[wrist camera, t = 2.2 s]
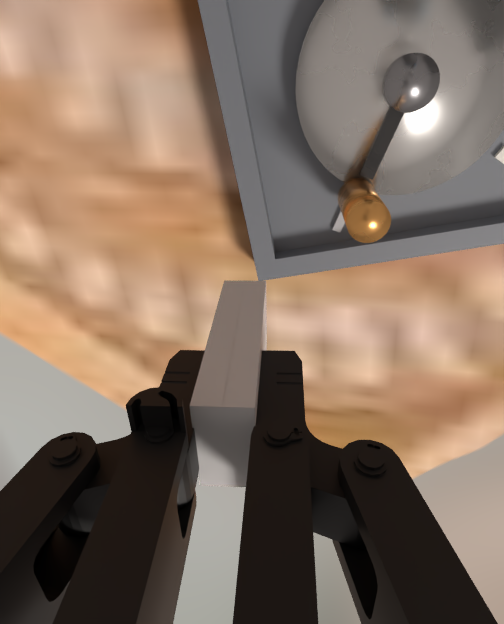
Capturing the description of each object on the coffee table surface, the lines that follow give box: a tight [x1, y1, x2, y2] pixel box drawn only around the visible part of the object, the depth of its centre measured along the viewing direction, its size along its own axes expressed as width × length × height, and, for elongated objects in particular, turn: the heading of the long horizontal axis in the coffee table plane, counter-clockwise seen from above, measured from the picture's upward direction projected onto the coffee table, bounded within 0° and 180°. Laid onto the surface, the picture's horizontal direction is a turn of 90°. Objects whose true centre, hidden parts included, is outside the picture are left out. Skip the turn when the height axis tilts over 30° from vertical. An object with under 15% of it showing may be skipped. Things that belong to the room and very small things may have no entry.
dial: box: [295, 0, 504, 243], centre depth 23 cm, size 14×13×6 cm
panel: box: [198, 0, 504, 281], centre depth 26 cm, size 22×22×3 cm
